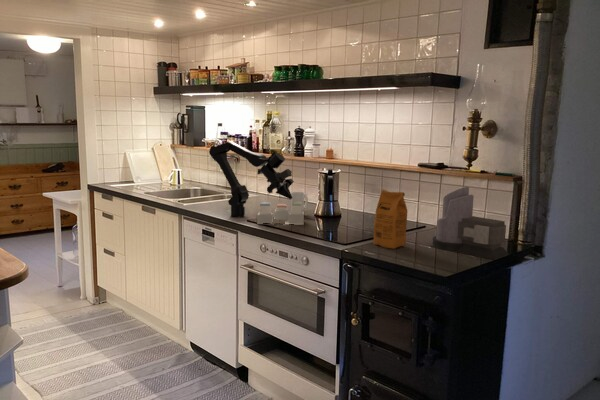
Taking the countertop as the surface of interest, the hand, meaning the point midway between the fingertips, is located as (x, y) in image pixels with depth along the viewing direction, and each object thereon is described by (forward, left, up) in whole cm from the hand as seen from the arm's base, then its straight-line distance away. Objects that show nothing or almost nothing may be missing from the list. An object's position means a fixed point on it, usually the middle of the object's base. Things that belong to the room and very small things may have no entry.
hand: (291, 198), depth 250 cm
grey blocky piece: (+69, -51, -12) cm, 87 cm away
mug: (+4, +20, -12) cm, 24 cm away
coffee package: (+40, -47, -12) cm, 63 cm away
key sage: (+3, -1, -8) cm, 9 cm away
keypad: (-5, +2, -12) cm, 13 cm away
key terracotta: (-5, +7, -10) cm, 14 cm away
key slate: (-12, -3, -8) cm, 15 cm away
